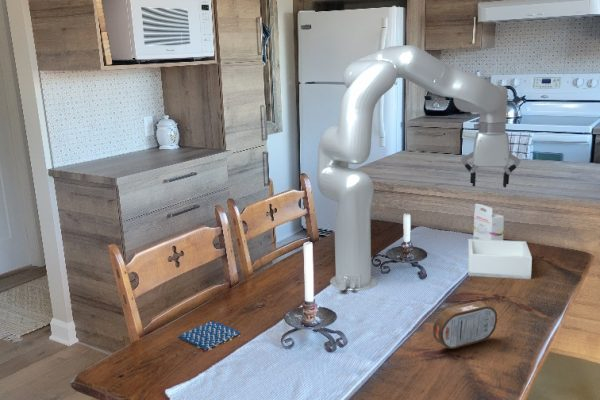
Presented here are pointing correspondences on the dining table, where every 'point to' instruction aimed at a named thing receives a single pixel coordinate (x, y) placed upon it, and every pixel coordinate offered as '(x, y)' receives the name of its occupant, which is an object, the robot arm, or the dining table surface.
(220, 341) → the woven mat
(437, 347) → the dining table surface
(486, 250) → the walled box
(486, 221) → the ink cartridge box
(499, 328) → the dining table surface
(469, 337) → the tin
